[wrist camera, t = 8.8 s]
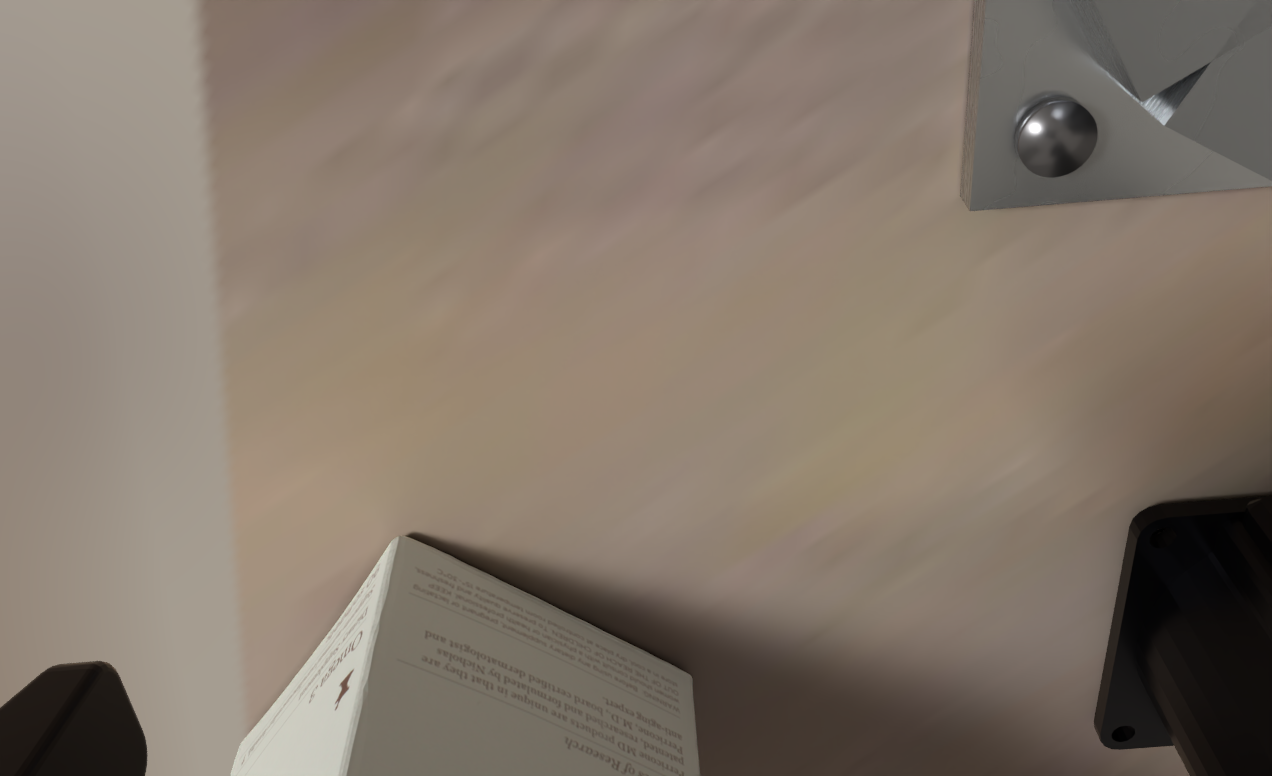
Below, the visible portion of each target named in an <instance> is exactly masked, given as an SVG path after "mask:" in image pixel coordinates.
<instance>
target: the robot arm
mask: <svg viewBox="0 0 1272 776" xmlns="http://www.w3.org/2000/svg"><path fill="white" fill-rule="evenodd" d="M1162 528H1166V529H1165V530H1164V531H1162V532H1161V533H1159V534H1155V535H1152V534H1153V533H1154V532H1155V531H1157V530H1158V529H1162ZM1094 727H1095V730H1096V732H1097V734H1098V736H1099V738H1100V741H1101V742H1102V743H1103V745H1104V746H1106V747H1108V748H1110V749H1133V748H1147V747H1160V746H1173V745H1174V746H1175V748H1176V750H1177V752H1178V754H1179V755H1180V757H1181V759H1182V761H1183V763H1184V765H1185V767H1186V769H1187V771H1188V773H1189V775H1190V776H1272V496H1264V497H1251V498H1238V499H1226V500H1213V501H1200V502H1188V503H1175V504H1162V505H1156V506H1151V507H1148V508H1146V509H1144V510H1143V511H1141V512H1139V513H1138V514H1137V515H1136V516H1135V517H1134V518H1133V520H1132V522H1131V524H1130V527H1129V532H1128V537H1127V543H1126V548H1125V554H1124V559H1123V565H1122V570H1121V576H1120V581H1119V586H1118V592H1117V597H1116V603H1115V608H1114V614H1113V619H1112V625H1111V630H1110V636H1109V641H1108V647H1107V652H1106V658H1105V663H1104V669H1103V674H1102V680H1101V685H1100V691H1099V696H1098V702H1097V707H1096V712H1095V718H1094ZM146 767H147V745H146V740H145V736H144V733H143V730H142V728H141V726H140V723H139V721H138V718H137V716H136V714H135V711H134V709H133V707H132V704H131V702H130V700H129V697H128V695H127V693H126V690H125V688H124V686H123V683H122V681H121V679H120V677H119V675H118V673H117V671H116V669H115V668H114V667H112V665H110V664H109V663H107V662H102V661H95V662H94V661H93V662H82V663H68V664H59V665H55V666H52V667H50V668H48V669H47V670H45V671H44V672H42V673H41V674H40V675H39V676H37V677H36V678H35V679H34V680H33V681H31V682H30V683H29V684H28V685H27V686H26V687H24V688H23V689H22V690H21V691H20V692H19V693H17V694H16V695H15V696H14V697H12V698H11V699H10V700H9V701H8V702H7V703H5V704H4V705H3V706H2V707H1V708H0V776H145V772H146Z"/></svg>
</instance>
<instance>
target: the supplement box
mask: <svg viewBox="0 0 1272 776" xmlns="http://www.w3.org/2000/svg"><path fill="white" fill-rule="evenodd" d="M230 776H700V766H699V756H698V744H697V732H696V721H695V709H694V698H693V679H692V677H691V675H689V674H688V673H687V672H684V671H682V670H680V669H679V668H677V667H675V666H673V665H671V664H669V663H667V662H665V661H663V660H661V659H659V658H657V657H655V656H653V655H651V654H650V653H648V652H646V651H644V650H642V649H639V648H637V647H635V646H633V645H631V644H629V643H627V642H625V641H623V640H621V639H619V638H617V637H615V636H613V635H611V634H608V633H606V632H604V631H602V630H600V629H599V628H597V627H595V626H593V625H591V624H589V623H587V622H585V621H583V620H581V619H579V618H576V617H574V616H572V615H570V614H568V613H566V612H564V611H562V610H560V609H558V608H556V607H554V606H552V605H550V604H548V603H546V602H544V601H542V600H540V599H539V598H537V597H535V596H532V595H530V594H528V593H526V592H524V591H522V590H520V589H518V588H516V587H513V586H511V585H509V584H507V583H505V582H503V581H501V580H499V579H497V578H495V577H493V576H491V575H489V574H487V573H485V572H483V571H481V570H478V569H476V568H474V567H472V566H470V565H468V564H466V563H464V562H461V561H459V560H458V559H456V558H454V557H452V556H451V555H449V554H446V553H444V552H441V551H439V550H437V549H435V548H433V547H431V546H428V545H426V544H423V543H421V542H419V541H417V540H414V539H412V538H409V537H406V536H398V537H396V538H395V539H393V540H392V541H391V543H390V544H389V546H388V547H387V549H386V550H385V552H384V553H383V555H382V556H381V558H380V559H379V561H378V563H377V564H376V566H375V567H374V569H373V570H372V572H371V573H370V575H369V576H368V578H367V579H366V581H365V582H364V584H363V585H362V587H361V588H360V590H359V591H358V592H357V594H356V595H355V597H354V598H353V600H352V601H351V602H350V604H349V605H348V607H347V608H346V610H345V611H344V612H343V614H342V615H341V617H340V618H339V619H338V621H337V622H336V624H335V625H334V626H333V628H332V629H331V630H330V632H329V633H328V634H327V636H326V637H325V638H324V640H323V641H322V642H321V644H320V645H319V646H318V648H317V649H316V650H315V652H314V653H313V654H312V655H311V657H310V658H309V659H308V661H307V662H306V663H305V665H304V666H303V667H302V668H301V670H300V671H299V672H298V673H297V675H296V676H295V677H294V679H293V680H292V681H291V683H290V684H289V685H288V686H287V688H286V689H285V690H284V691H283V693H282V694H281V695H280V697H279V698H278V699H277V700H276V702H275V703H274V704H273V705H272V707H271V708H270V709H269V710H268V712H267V713H266V714H265V715H264V716H263V718H262V719H261V720H260V721H259V722H258V724H257V725H256V726H255V727H254V728H253V730H252V731H251V732H250V733H249V734H248V735H247V736H246V738H245V739H244V740H243V741H242V743H241V744H240V747H239V750H238V753H237V756H236V758H235V761H234V765H233V769H232V771H231V774H230Z"/></svg>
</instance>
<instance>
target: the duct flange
mask: <svg viewBox="0 0 1272 776" xmlns="http://www.w3.org/2000/svg"><path fill="white" fill-rule="evenodd" d="M1268 186H1272V0H974V14H973V28H972V42H971V55H970V69H969V83H968V96H967V110H966V124H965V138H964V151H963V165H962V179H961V193H960V197H961V198H962V200H963V201H964V203H965V205H966V206H967V208H968V209H969V211H978V210H990V209H1002V208H1014V207H1026V206H1039V205H1051V204H1063V203H1075V202H1087V201H1099V200H1111V199H1123V198H1135V197H1147V196H1160V195H1172V194H1184V193H1196V192H1208V191H1220V190H1232V189H1244V188H1256V187H1268Z"/></svg>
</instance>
